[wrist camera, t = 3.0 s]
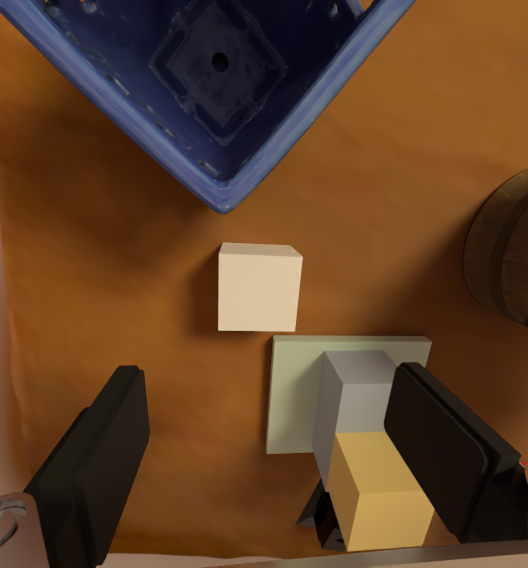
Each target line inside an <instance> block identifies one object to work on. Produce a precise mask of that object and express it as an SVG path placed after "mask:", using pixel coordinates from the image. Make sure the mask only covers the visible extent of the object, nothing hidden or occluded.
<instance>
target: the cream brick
mask: <svg viewBox="0 0 528 568" xmlns="http://www.w3.org/2000/svg"><path fill="white" fill-rule="evenodd" d="M302 258H303V257H302V256H301V255H300V254H299V253H298V252H297V251H296V250H295V249H294V248H292V247H291V246H288V245H266V244H244V243H223V244H222V246H221V249H220V252H219V298H218V330H222V331H295V325H296V315H297V306H298V296H299V287H300V277H301V268H302Z"/></svg>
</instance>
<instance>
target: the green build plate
mask: <svg viewBox="0 0 528 568" xmlns="http://www.w3.org/2000/svg"><path fill="white" fill-rule="evenodd" d="M431 344H432V341H430V340H429V339H428V338H426V337H425V336H297V335H273V344H272V359H271V373H270V388H269V403H268V417H267V432H266V453H267V454H281V453H306V452H314V451H313V448H312V440H313V433H314V426H315V418H316V411H317V403H318V396H319V389H320V381H321V374H322V366H323V359H324V351H384V352H385V353H386V354H387V355H388V356H389V358H390V359H391V360H392V361H393V362H394V363H395V364H396V365H397V366H399V365H400V364H401V363H402V362H418V363H420V364H421V365H422V366H423V367H424V368H425V366H426V363H427V359H428V355H429V351H430V348H431Z"/></svg>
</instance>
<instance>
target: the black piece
mask: <svg viewBox="0 0 528 568" xmlns="http://www.w3.org/2000/svg"><path fill="white" fill-rule="evenodd" d="M296 524H297V525H301V526H308V527H314V528H316V531H317V536H318V540H319V541H320V543H321V547H322V549H327V550H334V551H342V552H344V550H345V549H346V546H345V543H344V539H343V536H342V533H341V530H340V526H339V523H338V520H337V516H336V513H335V510H334V507H333V503H332V500H331V497H330V493H329V492H325V489H324V485H323V482H322V479H320V481H319V483H318V485H317V486H316V488H315V490H314V492H313V494H312V496H311V498H310V499H309V501H308V503H307V505H306V507H305V509H304V510H303V512H302V514H301V516H300V518H299V520H298V522H297V523H296Z"/></svg>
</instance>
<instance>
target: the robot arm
mask: <svg viewBox="0 0 528 568" xmlns="http://www.w3.org/2000/svg"><path fill="white" fill-rule="evenodd" d="M384 429H385V432H386V433H387V435H388V437H389V438H390V440H391V441H392V443H393V444H394V446H395V448H396V449H397V451H398V452H399V454H400V455H401V457H402V459H403V460H404V462H405V463H406V465H407V466H408V468H409V470H410V471H411V473H412V474H413V476H414V477H415V479H416V481H417V482H418V484H419V485H420V487H421V488H422V490H423V492H424V493H425V495H426V496H427V498H428V499H429V501H430V503H431V504H432V506H433V507H434V509H435V510H436V512H437V514H438V515H439V517H440V518H441V520H442V521H443V523H444V525H445V526H446V528H447V529H448V530H449V531H450V532H451V533H452V534H454V535H455V536H456V537H457V539H458V540H459V542H460V543H461V544H457V545H445V546H434V547H422V548H410V549H398V550H387V551H375V552H364V553H353V554H342V555H331V556H320V557H309V558H298V559H287V560H277V561H268V562H256V563H246V564H236V565H225V566H215V567H205V568H528V464H527V465H526V466H525V468H524V467H523V466H522V465H521V464H520V463H519V459H520V457H521V454H520V453H519V452H518V451H516V450H515V449H514V448H513V447H512V446H511V445H510V444H509V443H508V442H506V441H505V440H504V439H503V438H502V437H501V436H500V435H499V434H498V433H496V432H495V431H494V430H493V429H492V428H491V427H490V426H489V425H488V424H486V423H485V422H484V421H483V420H482V419H481V418H480V417H479V416H478V415H476V414H475V413H474V412H473V411H472V410H471V409H470V408H469V407H468V406H467V405H465V404H464V403H463V402H462V401H461V400H460V399H459V398H458V397H457V396H455V395H454V394H453V393H452V392H451V391H450V390H449V389H448V388H447V387H445V386H444V385H443V384H442V383H441V382H440V381H439V380H438V379H437V378H435V377H434V376H433V375H432V374H431V373H430V372H429V371H428V370H427V369H426V368H424V367H423V366H422V365H421V364H420V363H418V362H402V363H401V364H400V365H399V366H398V367H396V370H395V374H394V378H393V383H392V387H391V391H390V396H389V400H388V405H387V409H386V413H385V418H384ZM149 434H150V429H149V419H148V408H147V398H146V387H145V377H144V371H143V370H139V368H138V366H137V365H134V366H119V367H118V368H117V369H116V370H115V372H114V373H113V375H112V376H111V378H110V379H109V380H108V382H107V383H106V385H105V386H104V387H103V389H102V390H101V392H100V393H99V395H98V396H97V397H96V399H95V400H94V402H93V403H92V405H91V406H90V407H87V408H85V409H83V410H82V411H81V413H80V414H79V415H78V417H77V418H76V419H75V421H74V422H73V423H72V425H71V426H70V428H69V429H68V430H67V432H66V433H65V434H64V436H63V437H62V439H61V440H60V441H59V443H58V444H57V445H56V447H55V448H54V449H53V451H52V452H51V454H50V455H49V456H48V458H47V459H46V460H45V462H44V463H43V465H42V466H41V467H40V469H39V470H38V471H37V473H36V474H35V476H34V477H33V478H32V480H31V481H30V482H29V484H28V485H27V486H26V488H25V489H24V491H23V492H14V493H10V494H5V495H2V496H0V568H96V566H98V565H102V564H103V562H104V560H105V558H106V556H107V553H108V551H109V548H110V545H111V542H112V540H113V537H114V534H115V531H116V529H117V526H118V523H119V520H120V518H121V515H122V512H123V509H124V507H125V504H126V501H127V498H128V496H129V493H130V490H131V487H132V485H133V482H134V479H135V476H136V474H137V471H138V468H139V465H140V463H141V460H142V457H143V454H144V452H145V449H146V446H147V443H148V440H149Z"/></svg>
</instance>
